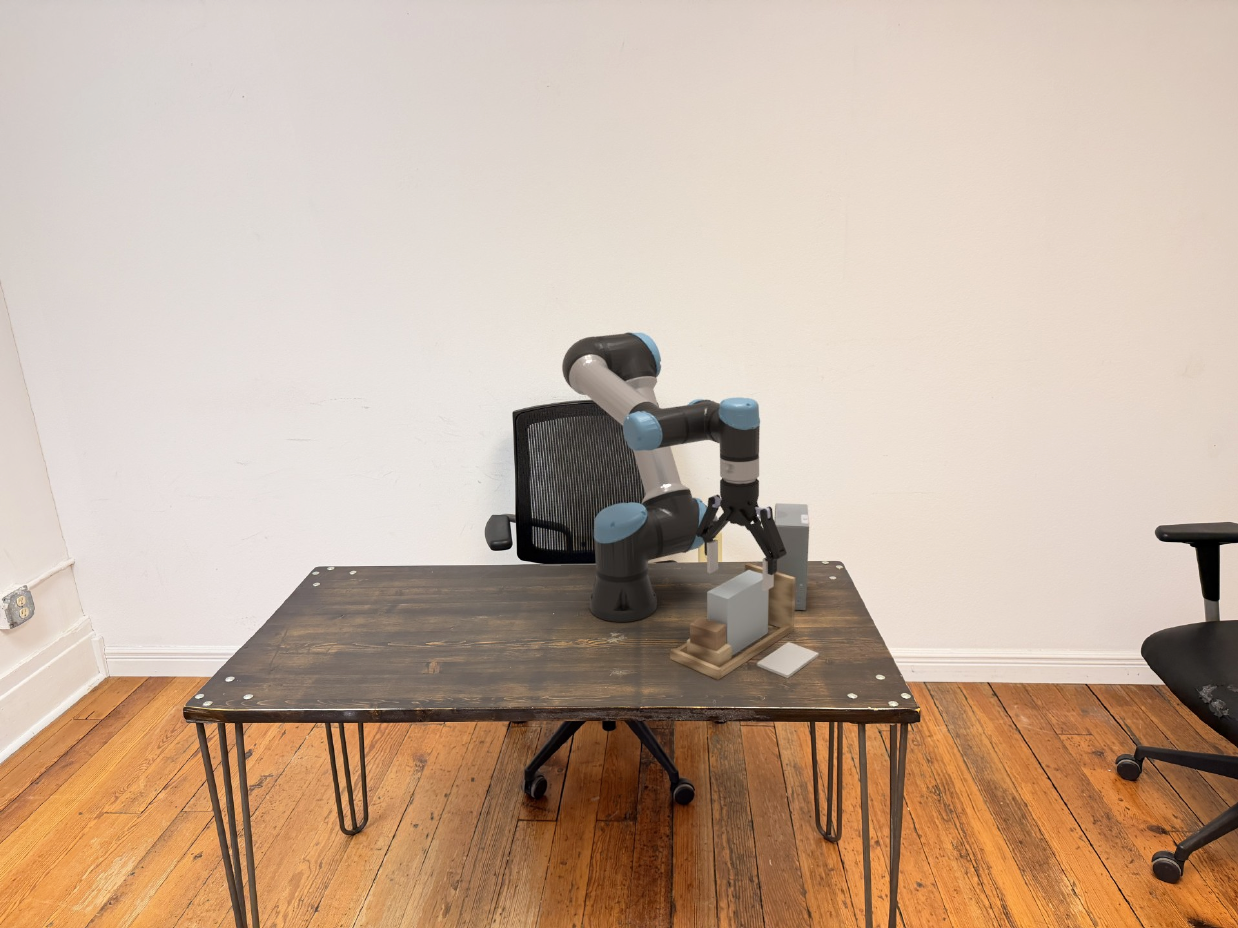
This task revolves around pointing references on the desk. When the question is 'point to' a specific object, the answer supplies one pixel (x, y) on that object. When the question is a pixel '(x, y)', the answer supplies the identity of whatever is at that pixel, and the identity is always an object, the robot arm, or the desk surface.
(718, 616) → the grey rectangular block
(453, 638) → the desk surface
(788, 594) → the rack
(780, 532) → the hard drive box
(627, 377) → the robot arm
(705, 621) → the offcut upper
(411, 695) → the desk surface
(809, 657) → the mat
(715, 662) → the offcut lower
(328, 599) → the desk surface
